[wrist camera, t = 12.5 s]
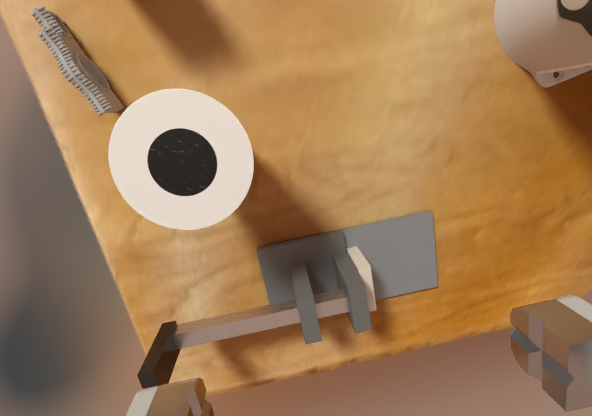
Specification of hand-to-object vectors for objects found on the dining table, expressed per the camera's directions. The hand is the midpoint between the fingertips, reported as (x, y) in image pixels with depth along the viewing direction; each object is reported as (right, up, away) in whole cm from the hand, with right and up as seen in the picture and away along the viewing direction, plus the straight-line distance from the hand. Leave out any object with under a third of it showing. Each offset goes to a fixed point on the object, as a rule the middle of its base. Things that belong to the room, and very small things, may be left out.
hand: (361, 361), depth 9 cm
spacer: (+7, -5, +40) cm, 41 cm away
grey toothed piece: (-26, +20, +31) cm, 45 cm away
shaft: (-6, -9, +33) cm, 35 cm away
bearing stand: (0, -6, +40) cm, 41 cm away
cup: (-12, +12, +34) cm, 38 cm away
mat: (+12, -3, +41) cm, 43 cm away
